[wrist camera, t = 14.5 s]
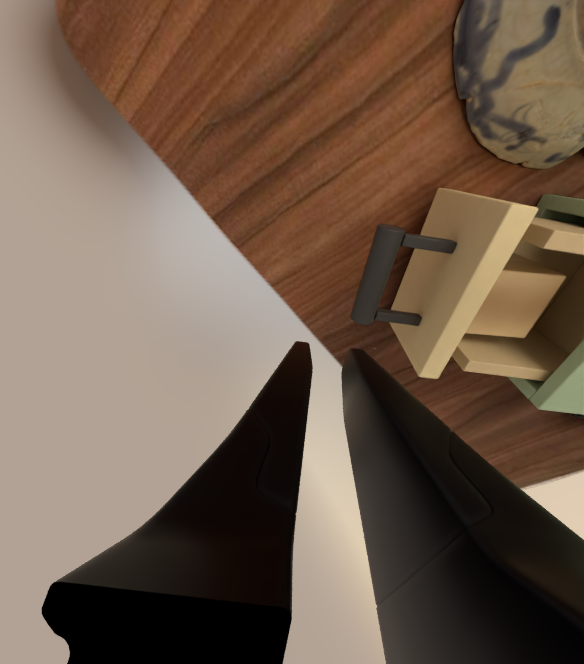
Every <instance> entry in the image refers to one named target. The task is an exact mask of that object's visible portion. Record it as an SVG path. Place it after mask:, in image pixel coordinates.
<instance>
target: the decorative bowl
mask: <svg viewBox="0 0 584 664" xmlns="http://www.w3.org/2000/svg"><path fill="white" fill-rule="evenodd" d="M453 35H454V54H453V58H454V59H453V62H454V70H455V80H456V86H457V91H458V97H459V99H467V100H466V101H467V102H466V103H467V106H466V113H467V121H468V122H469V123H470V126H471V131H472V132H473V133H474V134H475V136H476V138H477V140H478V142H479V143H480V144H481V145H482V146H484V147H485V148H487V149H488V150H489V151H491V152H492V153H494V154H495V155H496V156H497V158H498V159H503V160H505V161H509V162H512V163H513V164H516V163H521V162H522V164H521V165H522V166H524V167H528V168H535V169H550V168H551V167H553V166H555V165H557V164H559V163H560V162H562V161H564V160H565V159H567V158H569V157H571V156H572V155H573V154H575V153H576V152H578V151H579V150H580V149H582V148H583V147H584V0H464V3H463V5H462V8H461V10H460V12H459V14H458V17H457V20H456V24H455V29H454V34H453Z"/></svg>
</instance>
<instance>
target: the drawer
mask: <svg viewBox="0 0 584 664" xmlns="http://www.w3.org/2000/svg"><path fill="white" fill-rule="evenodd" d="M537 211H538V208H537V207H533V206H528V205H523V204H519V203H514V202H509V201H504V200H500V199H495V198H490V197H485V196H481V195H476V194H471V193H466V192H462V191H457V190H451V189H445V188H438V190H437V192H436V195H435V197H434V200H433V203H432V205H431V208H430V210H429V213H428V215H427V218H426V221H425V223H424V226H423V228H422V231H421V233H420V235H417V234H410V233H405V230H404V229H402V228H400V227H397V226H393V225H388V224H379V225H378V226H377V229H376V232H375V235H374V239H373V242H372V245H371V249H370V252H369V255H368V259H367V262H366V265H365V269H364V272H363V275H362V279H361V282H360V285H359V289H358V292H357V295H356V299H355V302H354V305H353V309H352V312H351V319H352V320H353V321H354V322H356V323H359V324H362V325H370V324H371V323H372V322H373V320H376V321H384V322H389V323H390V325H391V327H392V329H393V330H394V332H395V334H396V336H397V338H398V340H399V341H400V343H401V345H402V347H403V349H404V351H405V352H406V354H407V356H408V358H409V360H410V362H411V363H412V365H413V367H414V369H415V371H416V372H417V374H418V376H419V377H424V378H432V379H438V378H439V376H440V374H441V372H442V371H443V369H444V367H445V366H446V364H447V362H448V361H449V359H450V357H451V356H452V357H453V358H454V360H455V361H456V362H457V363H458V365H459V366H460V367H461V369H462V370H463V371H468V372H476V373H484V374H492V375H500V376H508V377H515V378H523V379H531V380H539V381H547V379H548V378H549V377H550V376H551V375H552V374H553V373H554V372H555V371H556V369H557V368H558V367H559V366H560V365H561V364H562V363H563V362H564V361H565V359H566V358H567V357H568V356H569V355H570V354H571V353H572V352H573V351H574V350H575V348H576V347H577V346H578V345H579V344H580V343H581V342H582V341H583V340H584V225H581V224H575V223H569V222H563V221H557V220H550V219H544V218H538V217H534V216H535V215H536V213H537ZM400 245H401V246H403V247H409V248H415V249H414V251H413V254H412V256H411V259H410V262H409V264H408V267H407V269H406V272H405V274H404V277H403V280H402V282H401V285H400V287H399V290H398V292H397V295H396V297H395V300H394V303H393V305H392V308H391V310H388V309H381V308H378V306H379V303H380V300H381V298H382V295H383V292H384V289H385V286H386V284H387V281H388V278H389V275H390V273H391V270H392V267H393V264H394V261H395V259H396V256H397V253H398V250H399V247H400ZM512 253H516V254H518V255H520V256H523V257H525V258H527V259H529V260H532V261H534V262H536V263H539V264H541V265H543V266H545V267H548V268H550V269H552V270H554V271H557V272H559V273H561V274H563V275H565V276H566V278H565V280H564V281H563V283H562V284H561V286H560V287H559V289H558V290H557V291H556V293H555V294H554V296H553V297H552V299H551V300H550V302H549V303H548V305H547V306H546V308H545V309H544V311H543V312H542V313H541V315H540V316H539V318H538V319H537V321H536V322H535V324H534V325H533V327H532V328H531V330H530V331H529V333H528V334H527V335H526V337H525V338H516V337H504V336H492V335H480V334H468V333H465V332H466V331H467V329H468V327H469V325H470V324H471V322H472V320H473V319H474V317H475V315H476V314H477V312H478V310H479V309H480V307H481V305H482V304H483V302H484V300H485V299H486V297H487V295H488V294H489V292H490V290H491V289H492V287H493V285H494V284H495V282H496V280H497V278H498V277H499V275H500V273H501V272H502V270H503V268H504V267H505V265H506V263H507V262H508V260H509V258H510V257H511V255H512Z"/></svg>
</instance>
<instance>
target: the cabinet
mask: <svg viewBox="0 0 584 664" xmlns="http://www.w3.org/2000/svg"><path fill="white" fill-rule="evenodd" d="M536 207H537V208H538V211H537V213H536V215H535V216H534V217H538V218H544V219H550V220H557V221H563V222H569V223H575V224H581V225H584V199H578V198H571V197H564V196H557V195H551V194H543V196H542V197H541V199H540V201H539V203H538V204H537V206H536ZM507 377H508V376H507ZM508 378H509V379H510V380H511V381H512V382H513V384H514V385H515V386H516V387H517V388H518V389H519V390H520V391H521V392H522V393H523V394H524V395H525V396H526V397H527V398H528V399H530V401H531V402H532V403H533V404H534V405H535V406H536V407H537V408H538V409H540V410H548V411H557V412H565V413H574V414H582V415H584V340H583V341H582V342H581V343H580V344H579V345H578V346H577V347H576V348H575V350H574V351H573V352H572V353H571V354H570V355H569V356H568V357H567V358H566V359H565V361H564V362H563V363H562V364H561V365H560V366H559V367H558V368H557V369H556V371H555V372H554V373H553V374H552V375H551V376H550V377H549V378H548V379H547V381H539V380H531V379H523V378H515V377H508Z"/></svg>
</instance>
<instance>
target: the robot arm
mask: <svg viewBox="0 0 584 664" xmlns="http://www.w3.org/2000/svg"><path fill="white" fill-rule="evenodd" d="M311 379H312V359H311V352H310V347H309V344H308V343H306V342H299V341H297V342H295V343H294V345H293V346H292V348H291V349H290V350H289V352H288V353H287V355H286V356H285V357H284V359H283V360H282V362H281V363H280V365H279V366H278V368H277V369H276V370H275V372H274V373H273V375H272V376H271V377H270V379H269V380H268V382H267V383H266V384H265V386H264V387H263V389H262V390H261V391H260V393H259V394H258V396H257V397H256V399H255V400H254V401H253V403H252V404H251V406H250V408H249V409H248V410H247V411H246V413H245V414H244V416H243V417H242V418H241V420H240V421H239V422H238V424H237V425H236V426H235V427H234V429H233V430H232V431H231V433H230V434H229V435H228V437H227V438H226V439H225V440H224V441H223V442H222V443H221V444H220V446H219V447H218V448H217V449H216V450H215V451H214V453H213V454H212V455H211V456H210V457H209V458H208V459H207V460H206V461H205V462H204V463H203V464H202V466H201V467H200V468H199V469H198V470H197V471H196V472H195V473H194V474H193V475H192V476H191V477H190V478H189V479H188V480H187V482H186V483H185V484H184V485H183V486H182V487H181V488H180V489H179V490H178V491H177V492H176V493H175V494H174V495H173V497H172V498H171V499H170V500H169V501H168V502H167V503H166V504H165V505H164V506H163V507H162V508H161V509H160V510H159V511H158V512H157V513H156V514H155V515H154V516H153V517H152V518H151V519H149V520H148V521H147V522H146V523H145V524H144V525H142V526H141V527H140V528H139V529H137V530H136V531H135V532H133V533H132V534H131V535H129V536H128V537H126V538H125V539H123V540H121V541H120V542H118V543H117V544H115V545H114V546H112V547H110V548H109V549H107V550H105V551H104V552H102V553H101V554H99V555H98V556H96V557H94V558H93V559H91V560H89V561H88V562H86V563H85V564H83V565H81V566H80V567H78V568H77V569H75V570H74V571H72V572H70V573H69V574H67V575H65V576H64V577H62V578H61V579H59V580H57V581H56V582H54V583H53V584H52V585H51V586H50V588H49V590H48V593H47V596H46V599H45V601H44V604H43V606H42V615H43V617H44V619H45V620H46V622H47V623H48V625H49V626H50V627H51V629H52V630H53V632H54V633H55V634H57V635H58V636H60V637H62V638H64V639H65V640H66V642H67V644H68V645H69V650H70V657H69V660H68V663H67V664H283V659H284V653H285V649H286V644H287V639H288V634H289V629H290V624H291V619H292V561H293V542H294V531H295V530H294V529H295V521H296V511H297V503H298V494H299V485H300V476H301V468H302V459H303V450H304V441H305V432H306V424H307V423H306V422H307V415H308V405H309V397H310V388H311ZM342 394H343V413H344V422H345V429H346V435H347V441H348V446H349V452H350V457H351V464H352V469H353V475H354V480H355V486H356V492H357V498H358V504H359V509H360V515H361V520H362V526H363V532H364V538H365V544H366V550H367V555H368V561H369V567H370V572H371V578H372V584H373V589H374V595H375V601H376V605H377V614H378V619H379V625H380V631H381V637H382V642H383V648H384V654H385V660H386V664H584V540H583V539H582V538H581V537H579V536H578V535H577V534H575V533H574V532H573V531H572V530H570V529H569V528H568V527H567V526H566V525H564V524H563V523H562V522H561V521H559V520H558V519H557V518H556V517H554V516H553V515H552V514H550V513H549V512H548V511H547V510H546V509H545V508H543V507H542V506H541V505H539V504H538V503H537V502H536V501H534V500H533V499H532V498H531V497H530V496H528V495H527V494H526V493H525V492H523V491H522V490H521V489H520V488H518V487H517V486H516V485H515V484H514V483H512V482H511V481H510V480H509V479H507V478H506V477H505V476H504V475H503V474H501V473H500V472H499V471H498V470H497V469H495V468H494V467H493V466H492V465H490V464H489V463H488V462H487V461H486V460H485V459H483V458H482V457H481V456H480V455H479V454H478V453H477V452H475V451H474V450H473V449H472V448H471V447H470V446H469V445H468V444H466V443H465V442H464V441H463V440H462V439H461V438H460V437H459V436H458V435H456V434H455V433H454V432H451V429H450V428H449V427H448V426H446V425H445V424H444V423H443V422H442V421H441V420H440V419H439V418H438V417H437V416H435V415H434V414H433V413H432V412H431V411H430V410H429V409H428V408H427V407H426V406H424V405H423V404H422V403H421V402H420V401H419V400H418V399H417V398H416V397H415V396H413V395H412V394H411V393H410V392H409V391H408V390H407V389H406V388H405V387H404V386H402V385H401V384H400V383H399V382H398V381H397V380H396V379H395V378H394V377H393V376H391V375H390V374H389V373H388V372H387V371H386V370H385V369H384V368H383V367H381V366H380V365H379V364H378V363H377V362H376V361H375V360H374V359H373V358H372V357H370V356H369V355H368V354H367V353H366V352H365V351H364V350H362V349H354V348H350V349H349V350H348V352H347V355H346V359H345V362H344V365H343V368H342ZM571 414H572V415H573V416H574V417H577V418H584V415H582V414H574V413H571Z"/></svg>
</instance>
